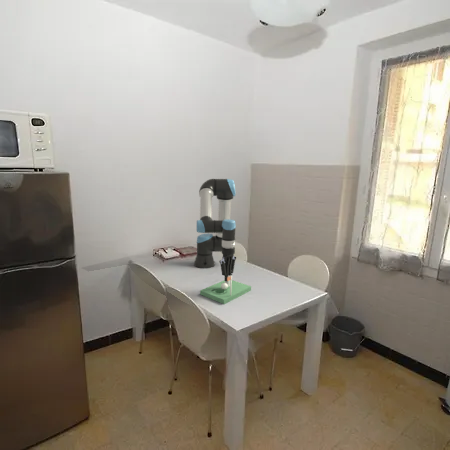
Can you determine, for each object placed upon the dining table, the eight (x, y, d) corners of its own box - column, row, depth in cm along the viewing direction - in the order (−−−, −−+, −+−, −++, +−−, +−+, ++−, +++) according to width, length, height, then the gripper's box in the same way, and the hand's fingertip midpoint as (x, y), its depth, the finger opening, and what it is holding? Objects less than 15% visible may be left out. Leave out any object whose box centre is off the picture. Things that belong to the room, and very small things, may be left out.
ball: (220, 282, 170) (224, 281, 173) (219, 289, 170) (223, 288, 173) (225, 283, 168) (229, 283, 171) (224, 290, 168) (228, 290, 171)
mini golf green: (227, 282, 188) (228, 261, 185) (251, 290, 177) (252, 267, 174) (200, 294, 169) (200, 271, 167) (224, 304, 158) (224, 279, 155)
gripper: (226, 250, 161) (225, 291, 165) (240, 245, 171) (239, 284, 175) (215, 247, 166) (215, 287, 170) (230, 243, 176) (229, 281, 180)
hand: (227, 285), depth 173 cm, fingers closed
